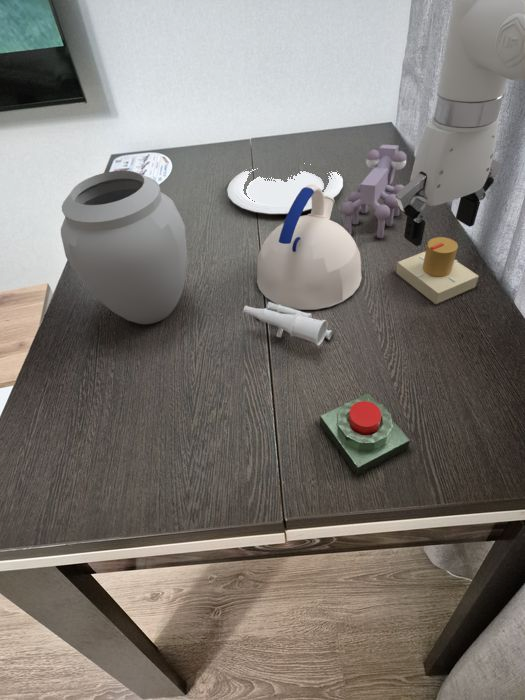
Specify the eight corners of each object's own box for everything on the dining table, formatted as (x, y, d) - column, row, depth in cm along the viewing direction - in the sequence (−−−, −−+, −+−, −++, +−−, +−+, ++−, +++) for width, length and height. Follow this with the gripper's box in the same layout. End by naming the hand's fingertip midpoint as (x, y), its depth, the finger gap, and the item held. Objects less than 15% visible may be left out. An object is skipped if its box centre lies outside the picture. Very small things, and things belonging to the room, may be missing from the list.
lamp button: (386, 426, 56) (388, 418, 55) (360, 439, 55) (361, 431, 54) (368, 404, 59) (369, 396, 58) (342, 416, 58) (343, 408, 57)
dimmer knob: (438, 257, 82) (444, 232, 78) (457, 270, 78) (464, 245, 75) (416, 266, 80) (421, 241, 77) (435, 280, 77) (441, 254, 73)
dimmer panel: (475, 287, 79) (479, 275, 77) (435, 304, 77) (438, 292, 75) (433, 257, 86) (436, 246, 84) (395, 273, 84) (397, 261, 82)
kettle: (375, 257, 88) (385, 168, 75) (340, 322, 76) (345, 230, 63) (283, 240, 95) (278, 156, 82) (238, 297, 83) (223, 209, 70)
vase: (101, 291, 88) (48, 172, 71) (196, 270, 90) (167, 150, 73) (98, 358, 75) (32, 232, 57) (210, 332, 77) (178, 203, 59)
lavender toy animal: (369, 193, 106) (374, 134, 97) (413, 200, 102) (423, 139, 92) (336, 234, 95) (339, 172, 85) (384, 244, 91) (393, 180, 81)
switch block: (407, 449, 58) (412, 432, 55) (356, 476, 56) (358, 460, 53) (367, 401, 63) (369, 384, 61) (319, 424, 62) (319, 407, 59)
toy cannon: (255, 328, 79) (263, 299, 79) (326, 351, 74) (336, 321, 73) (234, 324, 72) (244, 293, 71) (312, 350, 66) (323, 316, 66)
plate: (350, 215, 100) (351, 207, 99) (224, 225, 102) (223, 217, 101) (336, 161, 120) (336, 154, 119) (231, 171, 122) (230, 164, 121)
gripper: (497, 86, 58) (466, 205, 71) (388, 117, 54) (375, 237, 67) (544, 100, 53) (502, 226, 66) (429, 135, 49) (407, 262, 62)
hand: (438, 231), depth 66 cm, fingers open, 9 cm apart
